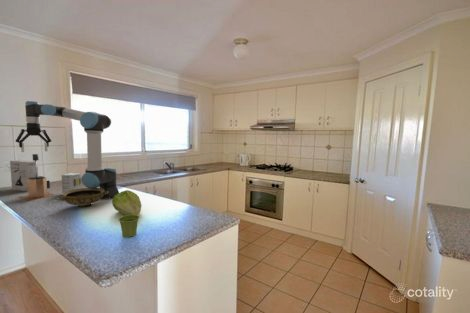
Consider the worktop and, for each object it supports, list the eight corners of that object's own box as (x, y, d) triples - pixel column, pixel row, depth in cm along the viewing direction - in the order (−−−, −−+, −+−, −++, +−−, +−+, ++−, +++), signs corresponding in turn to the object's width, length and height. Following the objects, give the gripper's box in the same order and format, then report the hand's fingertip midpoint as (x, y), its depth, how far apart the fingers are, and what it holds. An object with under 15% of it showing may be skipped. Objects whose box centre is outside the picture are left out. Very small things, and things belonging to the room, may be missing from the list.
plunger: (45, 185, 170) (43, 154, 168) (32, 186, 164) (31, 154, 162) (41, 183, 174) (39, 153, 171) (29, 185, 167) (27, 154, 165)
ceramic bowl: (60, 215, 135) (59, 199, 134) (54, 206, 151) (53, 191, 151) (114, 205, 156) (114, 191, 155) (104, 198, 173) (103, 185, 172)
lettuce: (119, 212, 124) (143, 195, 132) (105, 197, 140) (127, 183, 148) (131, 229, 131) (153, 212, 139) (117, 213, 147) (137, 199, 155)
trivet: (57, 197, 173) (57, 195, 173) (27, 202, 157) (26, 201, 157) (47, 193, 182) (47, 192, 182) (17, 198, 166) (17, 197, 166)
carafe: (52, 195, 173) (51, 176, 172) (31, 199, 163) (30, 178, 161) (47, 193, 178) (46, 175, 177) (26, 196, 168) (25, 177, 166)
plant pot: (142, 230, 116) (142, 214, 115) (135, 239, 106) (134, 221, 105) (124, 230, 115) (123, 214, 115) (115, 239, 106) (114, 221, 105)
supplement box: (73, 196, 176) (72, 175, 175) (61, 195, 177) (60, 174, 175) (81, 193, 186) (81, 173, 184) (71, 192, 186) (70, 172, 185)
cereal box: (11, 189, 193) (9, 160, 191) (22, 187, 200) (20, 159, 198) (29, 191, 187) (27, 162, 184) (39, 189, 194) (37, 161, 192)
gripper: (51, 123, 177) (52, 150, 179) (8, 121, 156) (10, 152, 158) (55, 123, 173) (57, 151, 175) (11, 121, 152) (13, 152, 154)
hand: (34, 151), depth 166 cm, fingers open, 13 cm apart
